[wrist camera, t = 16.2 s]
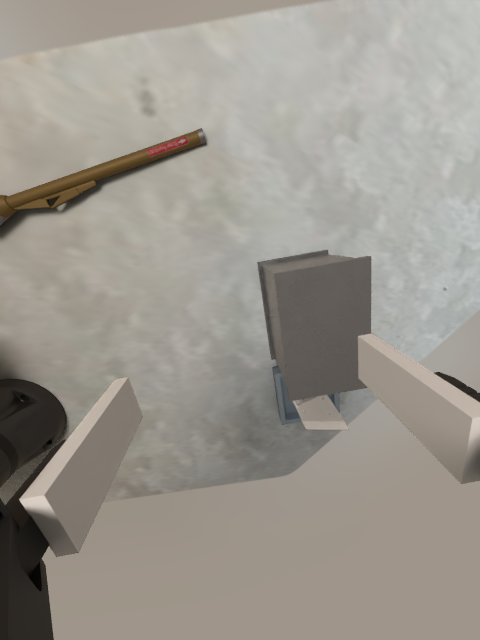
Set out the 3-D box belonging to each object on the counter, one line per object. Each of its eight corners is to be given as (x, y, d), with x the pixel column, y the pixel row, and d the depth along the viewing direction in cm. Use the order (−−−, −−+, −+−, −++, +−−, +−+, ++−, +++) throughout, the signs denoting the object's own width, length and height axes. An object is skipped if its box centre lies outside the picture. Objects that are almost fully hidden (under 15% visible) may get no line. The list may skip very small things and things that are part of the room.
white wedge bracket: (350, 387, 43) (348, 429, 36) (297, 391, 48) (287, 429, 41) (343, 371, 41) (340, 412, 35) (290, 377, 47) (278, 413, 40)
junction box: (270, 357, 43) (288, 403, 31) (257, 262, 38) (272, 272, 26) (331, 346, 43) (372, 387, 31) (325, 249, 38) (373, 254, 26)
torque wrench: (197, 121, 33) (209, 159, 35) (-42, 204, 33) (-17, 239, 35) (196, 106, 29) (210, 151, 31) (-79, 202, 29) (-48, 241, 31)
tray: (279, 415, 47) (282, 424, 45) (272, 367, 44) (274, 374, 42) (334, 406, 47) (339, 414, 45) (331, 356, 44) (337, 363, 42)
